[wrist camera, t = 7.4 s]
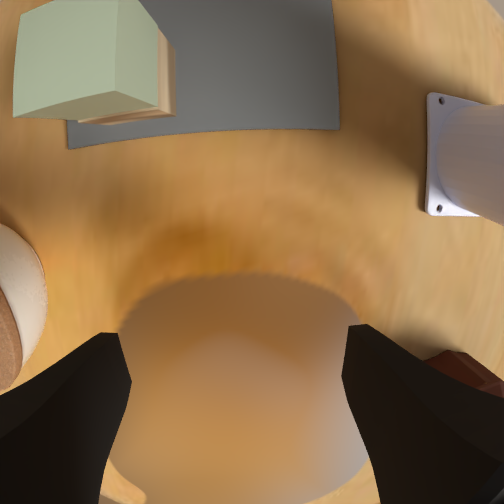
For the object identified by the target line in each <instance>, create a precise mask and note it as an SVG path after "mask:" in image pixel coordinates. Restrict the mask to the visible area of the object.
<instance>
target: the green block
mask: <svg viewBox="0 0 504 504" xmlns="http://www.w3.org/2000/svg"><path fill="white" fill-rule="evenodd" d="M157 42H158V25H157V24H156V22H155V21H154V20H153V19H152V17H151V16H150V15H149V13H148V12H147V11H146V10H145V8H144V7H143V6H142V4H141V3H140V2H139V1H138V0H54V1H51V2H49V3H46V4H44V5H42V6H39V7H37V8H35V9H32V10H30V11H28V12H26V13H24V14H22V15H21V17H20V23H19V29H18V37H17V45H16V55H15V66H14V83H13V117H15V118H47V119H65V120H82V119H87V118H92V117H97V116H102V115H108V114H113V113H119V112H125V111H131V110H138V109H145V108H153V107H158V90H157Z"/></svg>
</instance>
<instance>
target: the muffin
mask: <svg viewBox="0 0 504 504" xmlns="http://www.w3.org/2000/svg"><path fill="white" fill-rule="evenodd" d="M423 362H425V363H427V364H428V365H430V366H432V367H433V368H435V369H437V370H438V371H440V372H442V373H444V374H446V375H448V376H450V377H452V378H454V379H456V380H458V381H460V382H462V383H464V384H467V385H469V386H471V387H474V388H476V389H479V390H481V391H484V392H487V393H490V394H493V395H496V396H499V397H502V398H504V381H503V380H501V379H500V378H499V377H497V376H496V375H495V374H494V373H492V372H491V371H490V370H488V369H487V368H486V367H484V366H483V365H482V364H480V363H479V362H478V361H476V360H475V359H474V358H472V357H471V356H470V355H468V354H467V353H456V352H453V351H450V350H447V351H445V352H443V353H441V354H439V355H438V356H436V357H433V358H431V359H428V360H425V361H423Z"/></svg>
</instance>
